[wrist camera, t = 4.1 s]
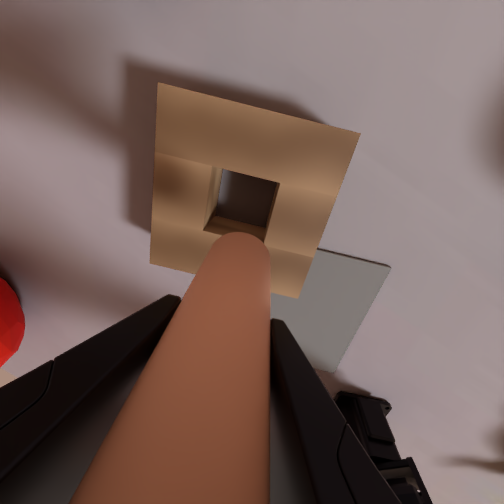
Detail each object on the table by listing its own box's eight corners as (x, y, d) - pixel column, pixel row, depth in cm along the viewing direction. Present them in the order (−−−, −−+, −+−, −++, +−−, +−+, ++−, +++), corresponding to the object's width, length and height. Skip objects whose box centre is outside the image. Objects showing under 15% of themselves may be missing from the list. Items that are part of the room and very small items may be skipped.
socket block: (293, 273, 22) (297, 298, 19) (170, 243, 22) (149, 263, 18) (342, 135, 17) (360, 133, 14) (182, 95, 17) (157, 82, 13)
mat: (333, 370, 27) (333, 373, 27) (248, 350, 27) (248, 353, 27) (390, 266, 21) (391, 268, 21) (282, 240, 21) (282, 241, 21)
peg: (262, 293, 12) (236, 744, 3) (204, 279, 12) (3, 703, 3) (277, 240, 11) (313, 755, 2) (213, 225, 11) (-98, 687, 2)
